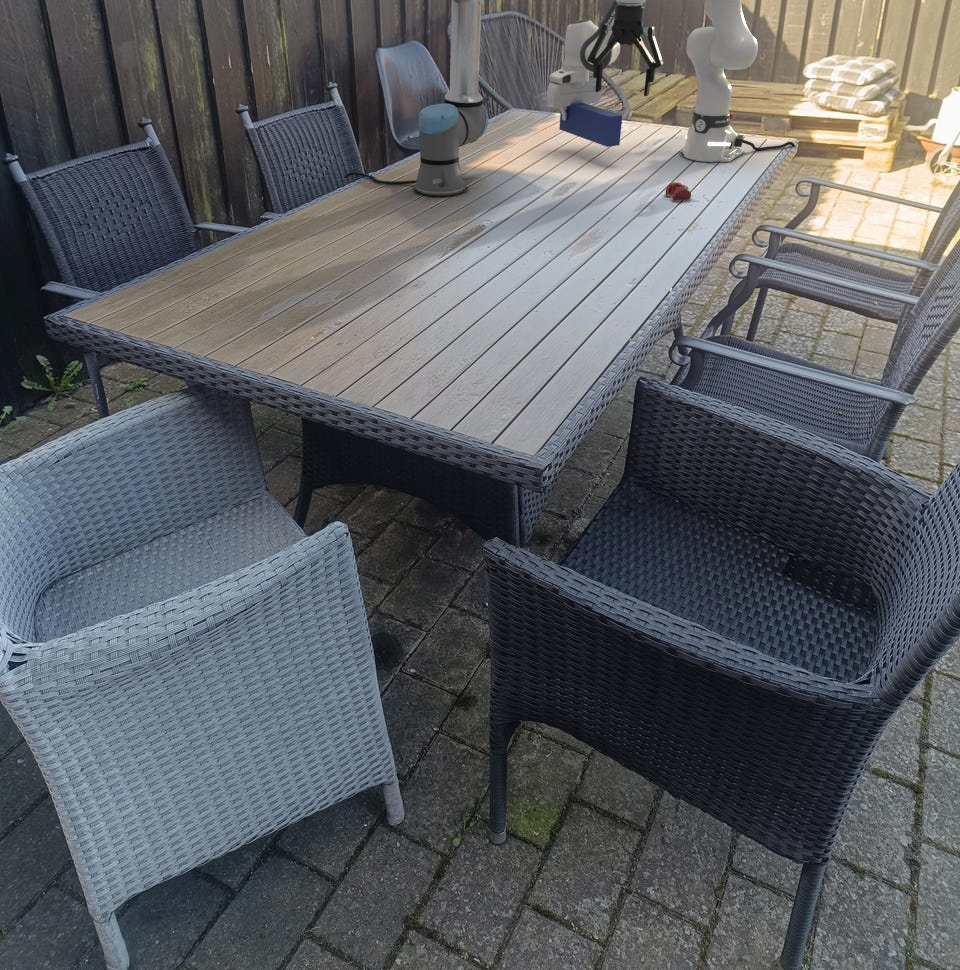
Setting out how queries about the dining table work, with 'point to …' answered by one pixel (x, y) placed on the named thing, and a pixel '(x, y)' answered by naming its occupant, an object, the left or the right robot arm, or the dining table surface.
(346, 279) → the dining table surface
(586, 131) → the bar
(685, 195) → the dental model
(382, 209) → the dining table surface
